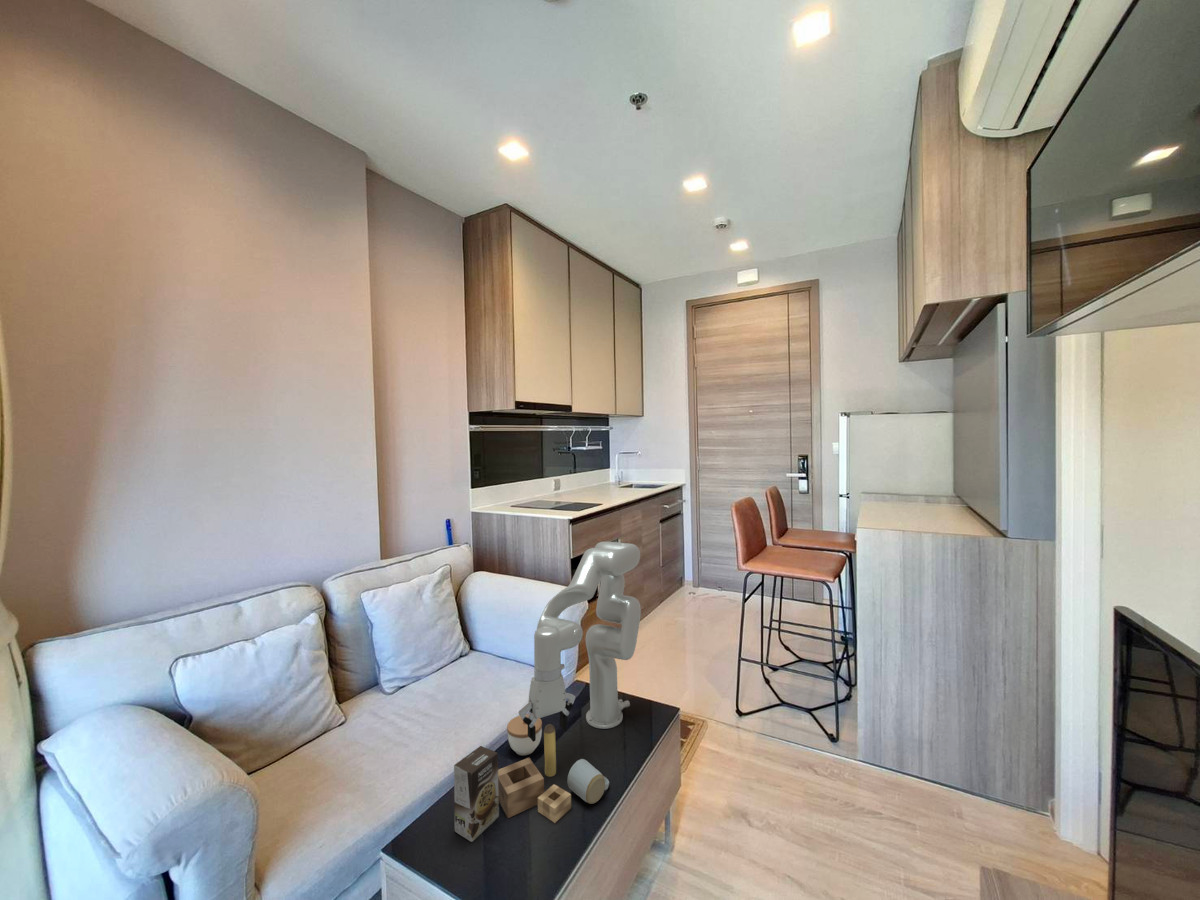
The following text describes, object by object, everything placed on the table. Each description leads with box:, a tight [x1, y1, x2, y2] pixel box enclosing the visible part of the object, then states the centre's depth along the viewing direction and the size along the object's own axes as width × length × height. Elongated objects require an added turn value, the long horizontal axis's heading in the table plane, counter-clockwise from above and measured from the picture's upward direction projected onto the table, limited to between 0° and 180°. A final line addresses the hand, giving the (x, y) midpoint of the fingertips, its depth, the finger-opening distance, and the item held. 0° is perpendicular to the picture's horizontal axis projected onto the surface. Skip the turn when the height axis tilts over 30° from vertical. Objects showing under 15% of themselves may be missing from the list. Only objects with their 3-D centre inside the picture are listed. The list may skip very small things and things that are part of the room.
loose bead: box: [537, 784, 572, 824], centre depth 116 cm, size 6×6×4 cm
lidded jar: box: [506, 713, 543, 756], centre depth 141 cm, size 11×11×9 cm
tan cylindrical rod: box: [543, 723, 557, 777], centre depth 130 cm, size 3×3×14 cm
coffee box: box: [453, 745, 500, 843], centre depth 112 cm, size 9×6×16 cm
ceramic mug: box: [566, 758, 610, 805], centre depth 122 cm, size 11×8×8 cm
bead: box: [498, 757, 545, 819], centre depth 121 cm, size 10×10×6 cm
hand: (547, 733), depth 129 cm, fingers open, 9 cm apart
